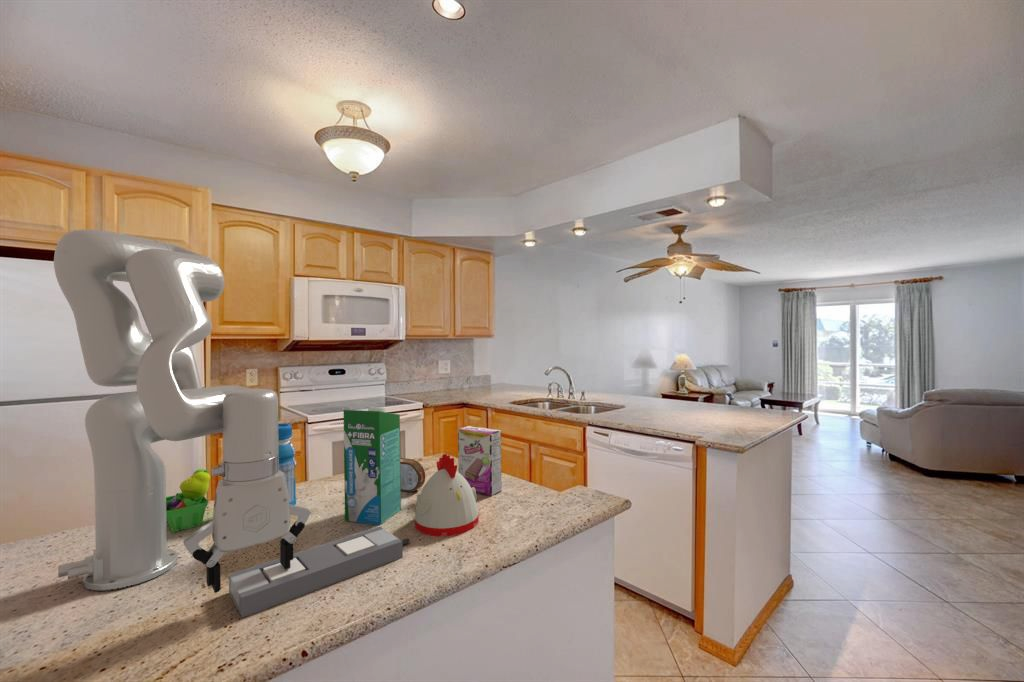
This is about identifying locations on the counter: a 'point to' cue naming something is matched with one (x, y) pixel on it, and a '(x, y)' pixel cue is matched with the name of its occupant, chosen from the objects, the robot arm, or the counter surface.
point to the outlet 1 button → (282, 570)
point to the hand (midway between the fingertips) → (252, 576)
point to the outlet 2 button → (354, 546)
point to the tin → (411, 475)
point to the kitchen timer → (446, 502)
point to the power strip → (312, 571)
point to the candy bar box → (480, 458)
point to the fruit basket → (188, 502)
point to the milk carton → (371, 465)
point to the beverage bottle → (287, 459)
